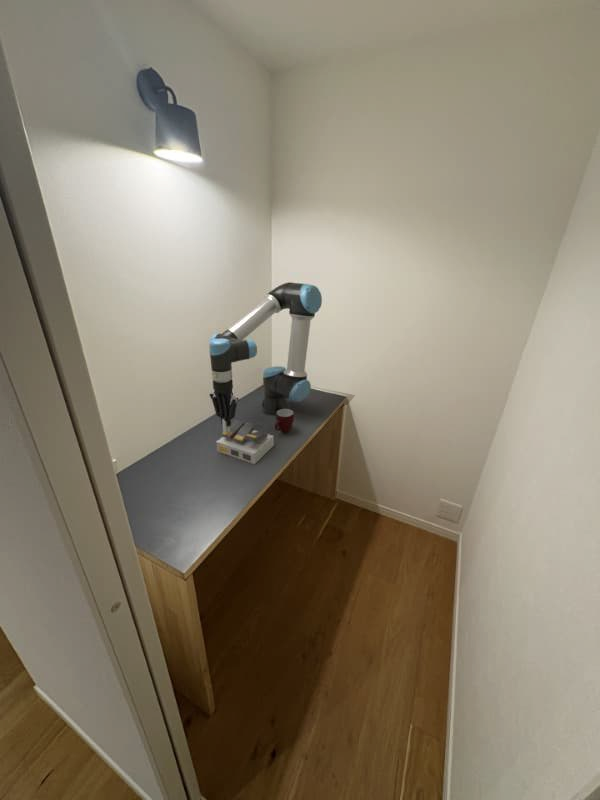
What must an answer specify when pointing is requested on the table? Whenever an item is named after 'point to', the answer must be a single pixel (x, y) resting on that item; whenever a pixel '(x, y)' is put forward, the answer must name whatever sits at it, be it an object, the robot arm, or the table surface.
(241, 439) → the rocker
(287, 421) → the mug
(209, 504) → the table surface
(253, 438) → the rocker
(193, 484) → the table surface
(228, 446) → the switch unit
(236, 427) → the rocker
